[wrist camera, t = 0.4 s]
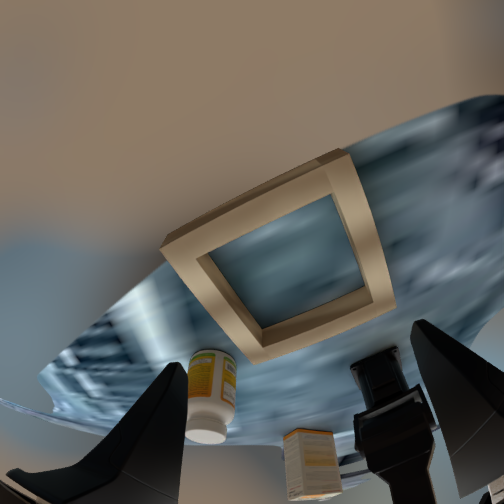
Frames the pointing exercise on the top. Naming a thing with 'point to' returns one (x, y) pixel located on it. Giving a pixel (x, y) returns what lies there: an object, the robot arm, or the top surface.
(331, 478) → the supplement box
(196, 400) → the supplement bottle
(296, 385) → the top surface
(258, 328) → the tan square frame
